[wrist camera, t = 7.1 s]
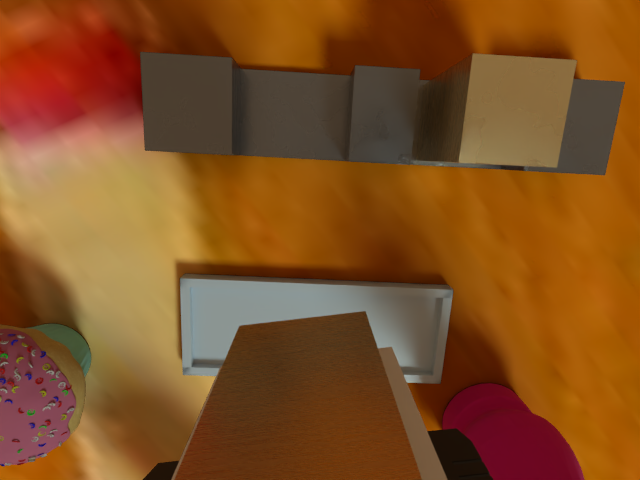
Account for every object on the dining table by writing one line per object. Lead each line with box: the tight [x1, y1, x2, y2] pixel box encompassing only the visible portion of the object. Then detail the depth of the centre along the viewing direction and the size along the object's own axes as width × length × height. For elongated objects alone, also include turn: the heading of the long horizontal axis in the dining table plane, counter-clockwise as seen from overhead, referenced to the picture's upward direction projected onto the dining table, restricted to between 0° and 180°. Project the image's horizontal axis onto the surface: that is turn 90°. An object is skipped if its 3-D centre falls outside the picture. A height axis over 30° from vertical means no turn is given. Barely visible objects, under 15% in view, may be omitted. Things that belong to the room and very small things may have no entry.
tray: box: [180, 274, 453, 384], centre depth 26 cm, size 18×7×1 cm, turn 87°
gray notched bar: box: [140, 52, 625, 175], centre depth 22 cm, size 26×5×3 cm, turn 87°
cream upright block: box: [416, 53, 577, 168], centre depth 20 cm, size 4×4×7 cm
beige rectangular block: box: [174, 311, 422, 480], centre depth 10 cm, size 4×4×7 cm
